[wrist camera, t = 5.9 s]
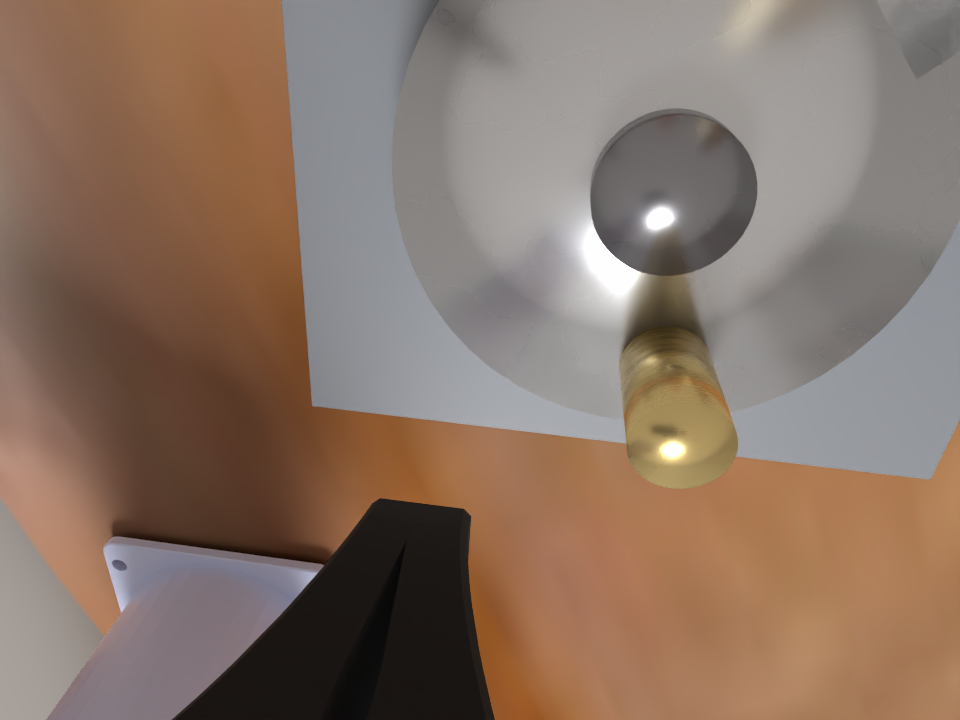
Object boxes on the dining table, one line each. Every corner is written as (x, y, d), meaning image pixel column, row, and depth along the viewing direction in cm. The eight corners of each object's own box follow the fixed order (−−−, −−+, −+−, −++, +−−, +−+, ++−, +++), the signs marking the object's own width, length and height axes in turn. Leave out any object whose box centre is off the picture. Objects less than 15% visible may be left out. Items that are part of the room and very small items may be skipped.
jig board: (910, 450, 19) (1006, 590, 14) (325, 382, 20) (259, 493, 16) (1219, -224, 12) (1579, -331, 7) (286, -264, 13) (146, -373, 9)
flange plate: (1116, 249, 14) (1292, 342, 11) (542, 456, 18) (534, 569, 15) (1014, -408, 10) (1249, -607, 6) (302, 58, 14) (212, 87, 11)
